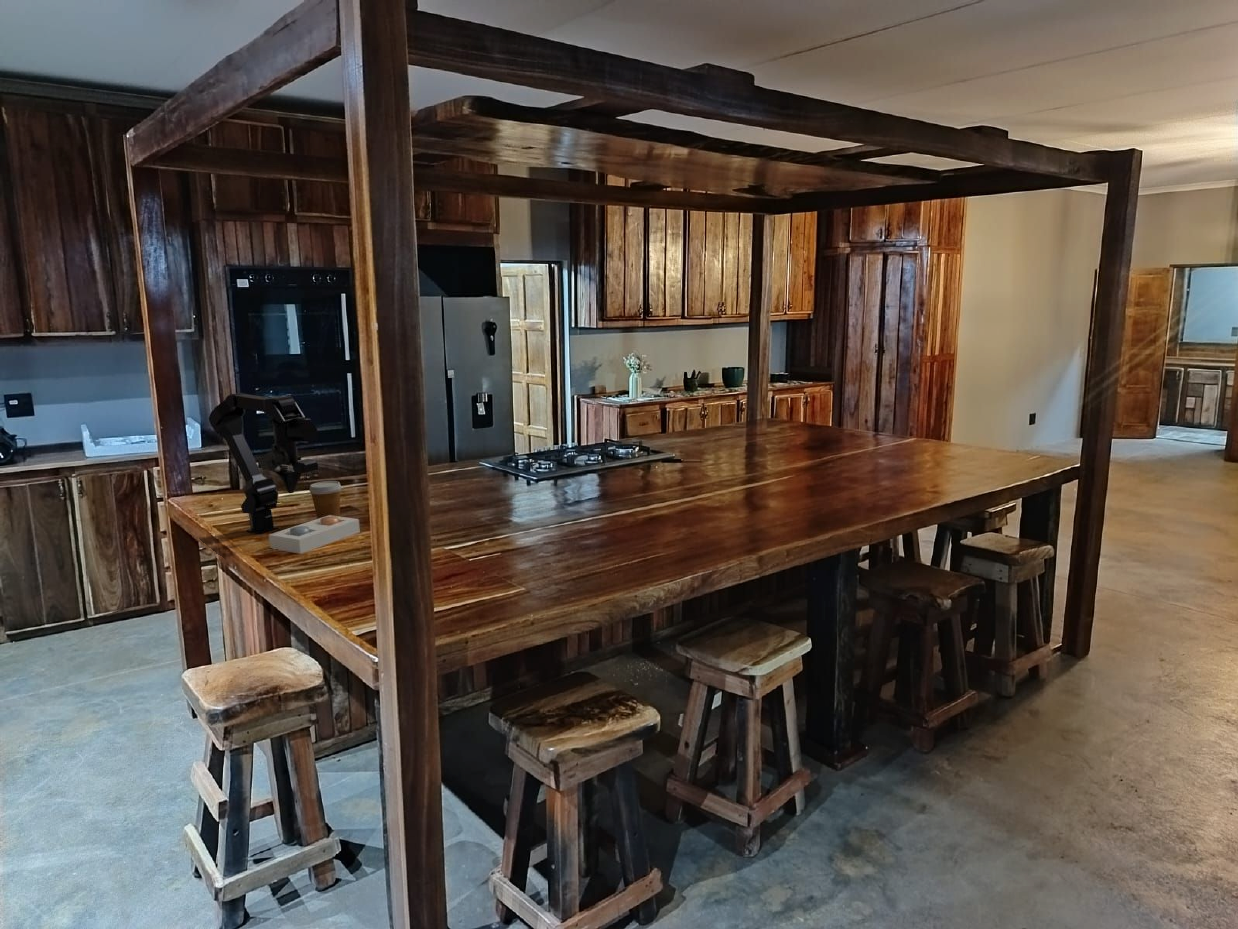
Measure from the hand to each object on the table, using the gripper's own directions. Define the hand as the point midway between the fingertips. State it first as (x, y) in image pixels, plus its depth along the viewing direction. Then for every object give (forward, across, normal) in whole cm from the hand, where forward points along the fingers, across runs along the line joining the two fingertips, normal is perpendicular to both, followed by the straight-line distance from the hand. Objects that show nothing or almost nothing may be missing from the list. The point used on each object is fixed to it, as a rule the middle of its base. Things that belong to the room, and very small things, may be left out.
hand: (291, 492), depth 244 cm
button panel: (+13, +10, -1) cm, 16 cm away
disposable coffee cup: (+13, -2, +15) cm, 20 cm away
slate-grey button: (+11, +10, -7) cm, 16 cm away
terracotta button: (+11, +10, +4) cm, 15 cm away
